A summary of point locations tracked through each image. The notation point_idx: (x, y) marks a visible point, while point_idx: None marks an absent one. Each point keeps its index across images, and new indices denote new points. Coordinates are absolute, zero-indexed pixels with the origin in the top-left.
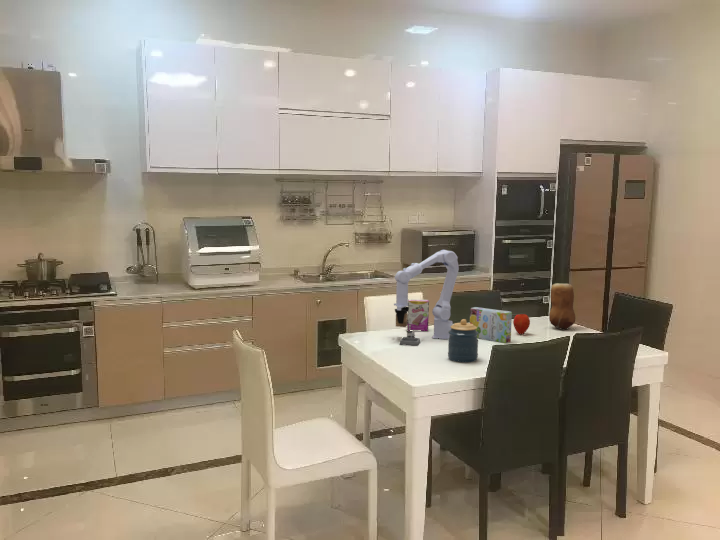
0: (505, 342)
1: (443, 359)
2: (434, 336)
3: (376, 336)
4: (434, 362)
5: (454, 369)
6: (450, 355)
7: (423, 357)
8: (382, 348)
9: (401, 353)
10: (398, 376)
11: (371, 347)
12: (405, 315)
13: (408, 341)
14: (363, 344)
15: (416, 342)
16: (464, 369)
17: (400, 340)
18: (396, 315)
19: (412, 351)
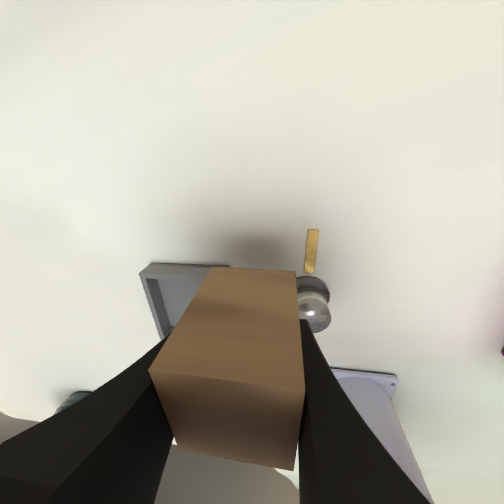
0: (299, 490)
1: (69, 382)
2: (339, 379)
3: (316, 46)
4: (29, 366)
5: (17, 393)
6: (59, 407)
7: (48, 345)
8: (41, 200)
9: (36, 287)
10: None
11: (13, 133)
12: (181, 440)
13: (151, 308)
14: (29, 41)
15: (161, 334)
16: (33, 406)
17: (143, 276)
18: (159, 362)
19: (86, 316)
